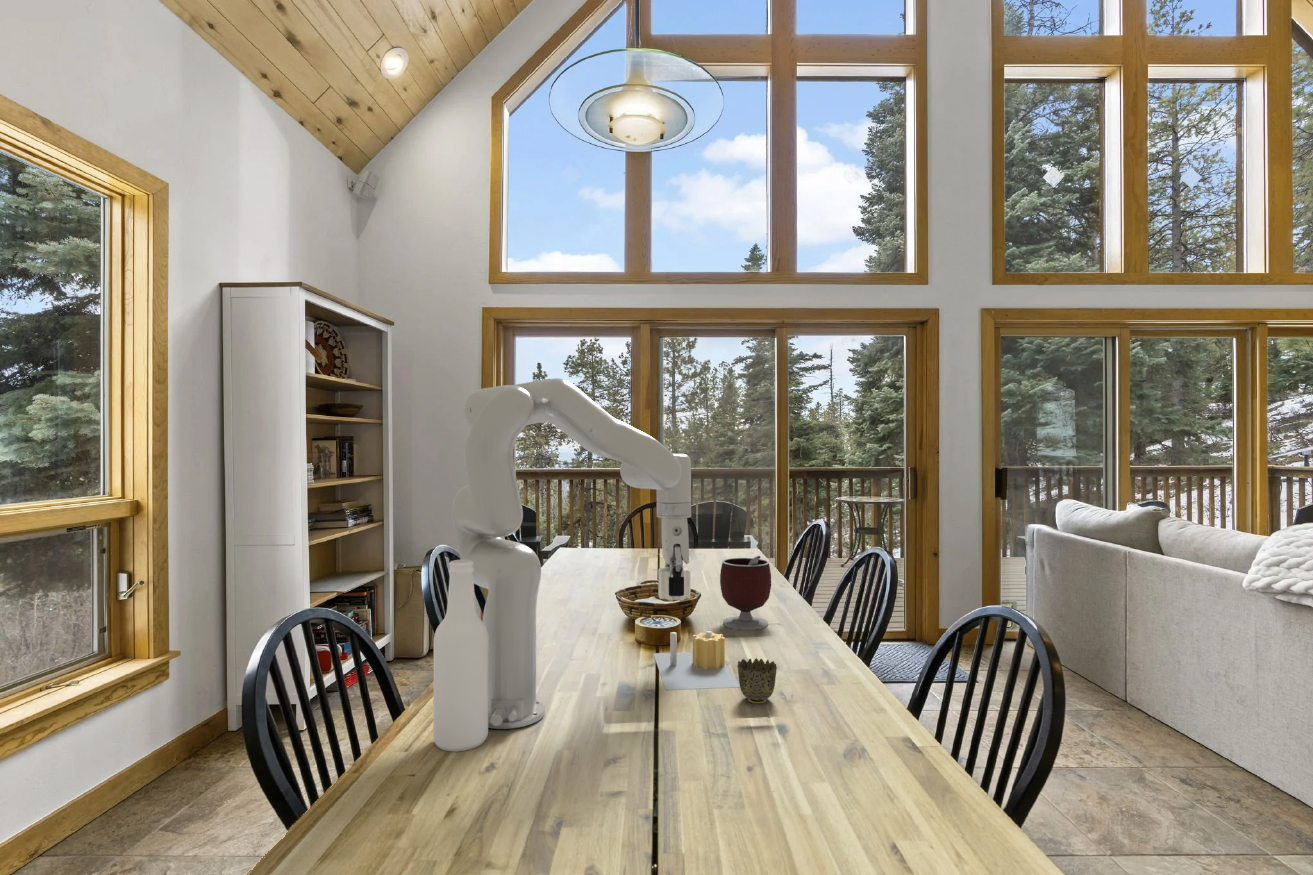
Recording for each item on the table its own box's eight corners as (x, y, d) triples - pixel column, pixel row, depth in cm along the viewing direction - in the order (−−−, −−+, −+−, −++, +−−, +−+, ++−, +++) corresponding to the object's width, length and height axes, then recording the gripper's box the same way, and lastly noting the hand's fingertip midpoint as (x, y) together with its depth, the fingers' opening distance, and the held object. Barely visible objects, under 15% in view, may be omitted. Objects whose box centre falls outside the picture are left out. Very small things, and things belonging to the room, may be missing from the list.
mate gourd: (712, 619, 197) (712, 548, 197) (757, 616, 201) (757, 546, 202) (734, 634, 182) (734, 557, 183) (783, 630, 187) (783, 554, 187)
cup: (776, 715, 129) (776, 671, 129) (735, 711, 130) (735, 668, 130) (777, 700, 136) (777, 658, 136) (739, 697, 137) (739, 656, 137)
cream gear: (692, 600, 151) (692, 571, 151) (660, 600, 150) (660, 572, 150) (687, 593, 157) (687, 566, 157) (657, 593, 157) (657, 566, 157)
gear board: (740, 693, 140) (740, 651, 140) (665, 696, 138) (665, 654, 138) (717, 656, 164) (717, 621, 164) (653, 658, 162) (653, 622, 162)
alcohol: (431, 734, 120) (432, 558, 120) (484, 727, 123) (485, 555, 123) (434, 756, 112) (435, 567, 112) (491, 747, 115) (491, 563, 115)
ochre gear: (727, 668, 151) (727, 640, 151) (695, 669, 151) (695, 641, 151) (720, 658, 158) (720, 631, 158) (690, 659, 157) (690, 632, 157)
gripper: (697, 514, 145) (697, 600, 145) (685, 506, 163) (685, 583, 163) (661, 514, 145) (661, 601, 145) (652, 506, 162) (652, 584, 162)
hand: (674, 591), depth 154 cm, fingers closed on cream gear, 6 cm apart
